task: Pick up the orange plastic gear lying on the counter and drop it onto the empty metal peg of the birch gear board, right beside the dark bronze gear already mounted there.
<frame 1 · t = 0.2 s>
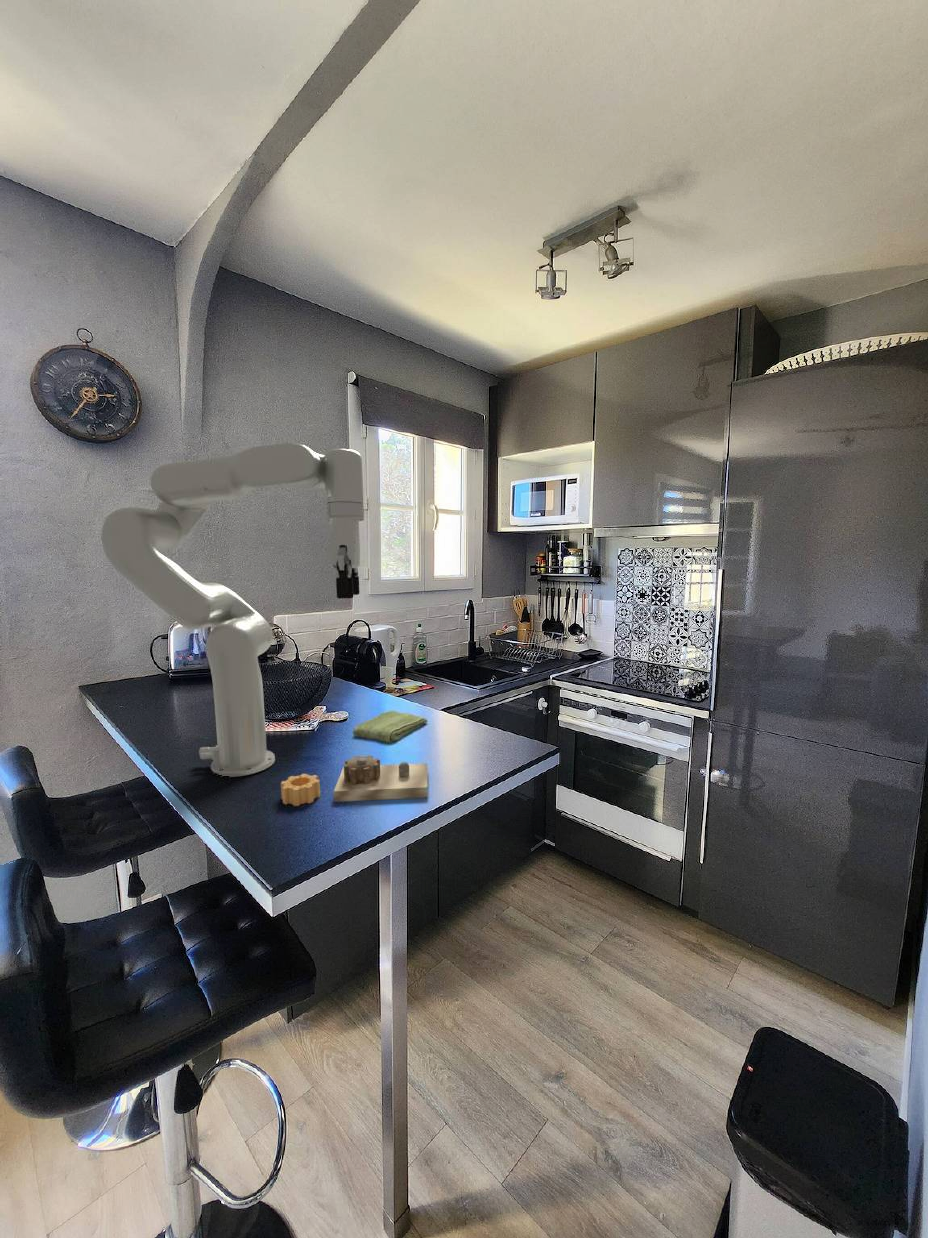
hand: (348, 596, 105), 36 cm above the breakfast bar, tool pointing down, fingers open, 9 cm apart
gear board: (383, 786, 98), on the breakfast bar
washcloth: (390, 731, 130), on the breakfast bar
loose gear: (301, 797, 94), on the breakfast bar
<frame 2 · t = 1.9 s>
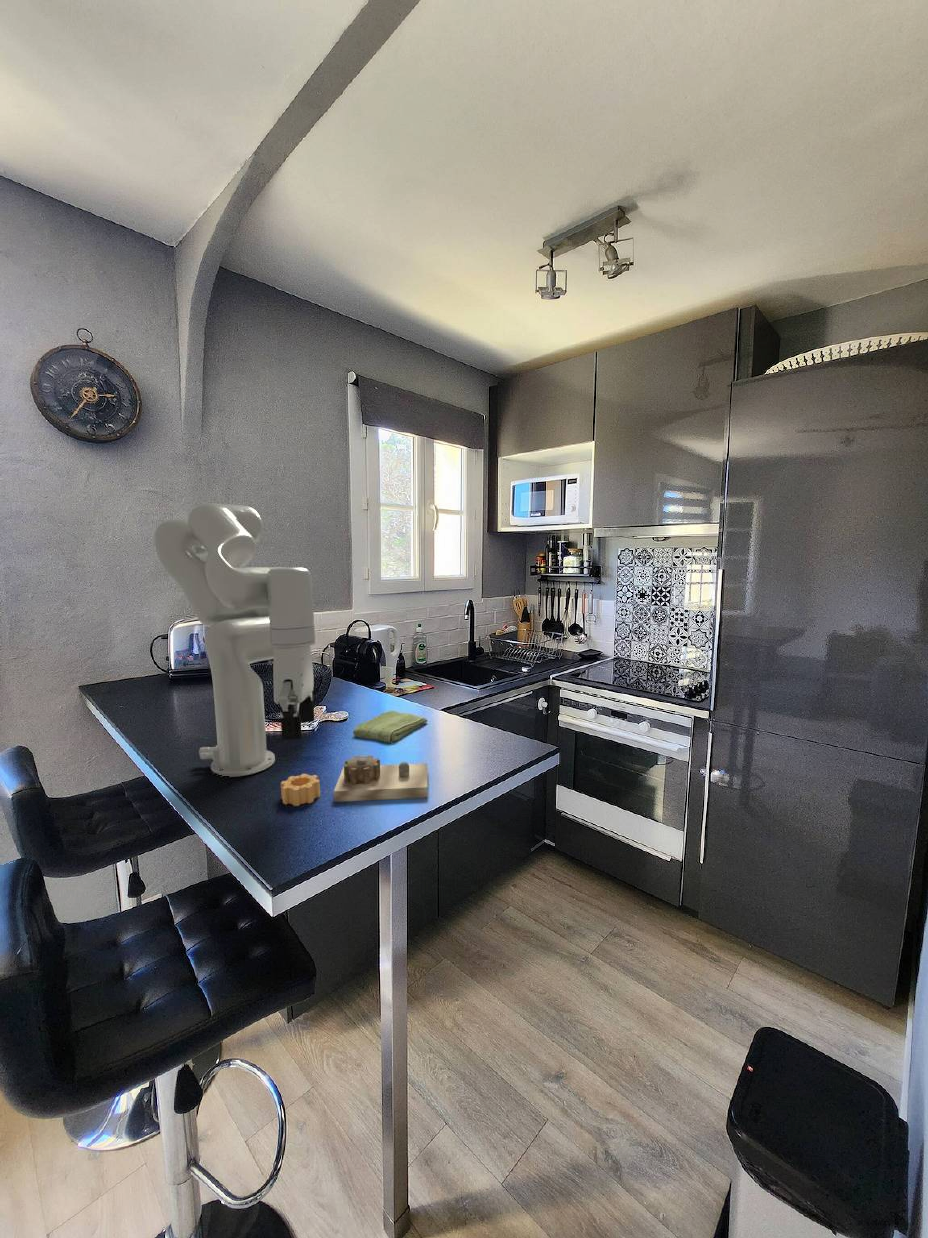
hand: (299, 729, 92), 13 cm above the breakfast bar, tool pointing down, fingers open, 9 cm apart
nothing on the breakfast bar moved.
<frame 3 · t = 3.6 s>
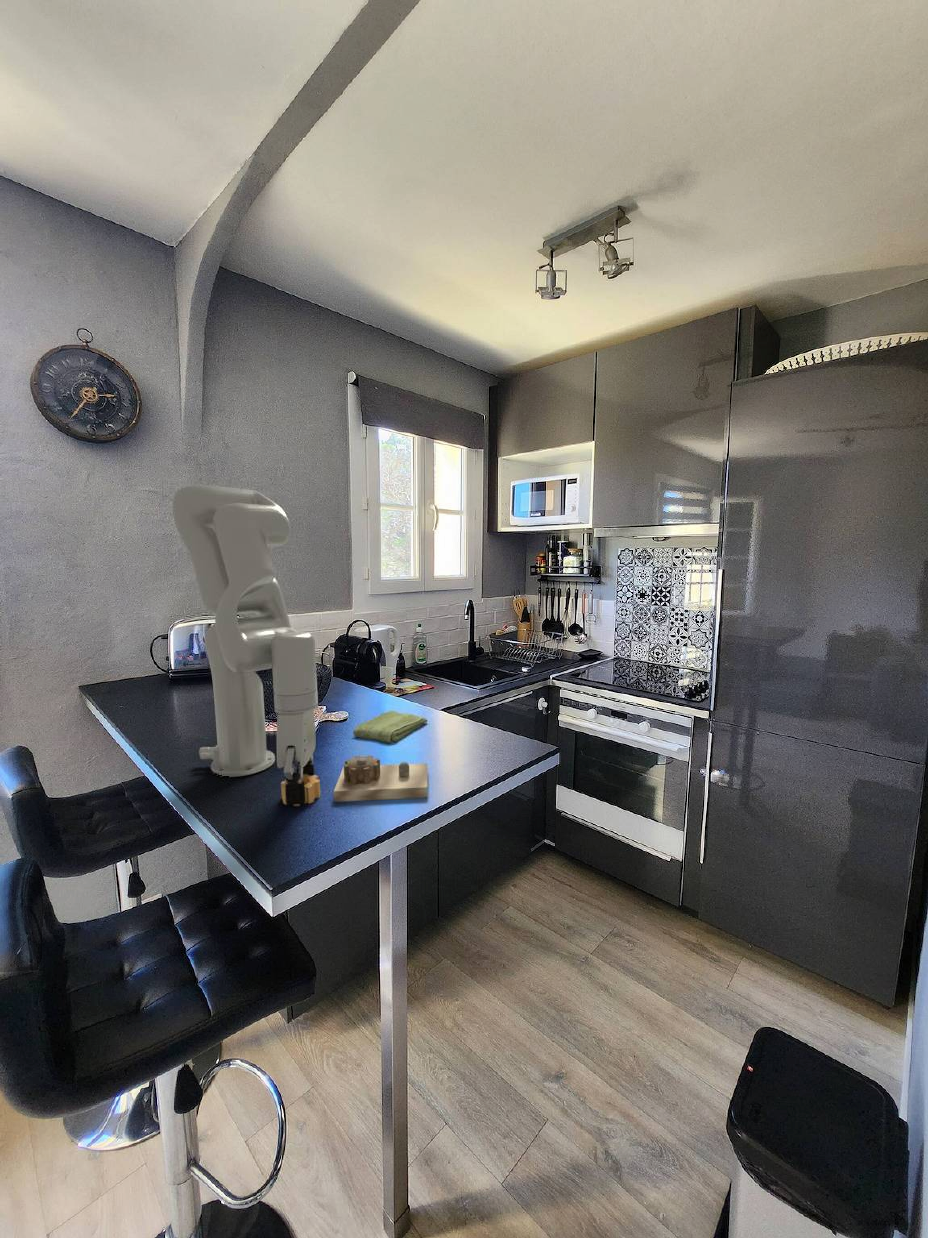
hand: (301, 793, 93), 1 cm above the breakfast bar, tool pointing down, fingers closed on loose gear, 6 cm apart
loose gear: (301, 797, 94), on the breakfast bar, touching gripper
everything else where it was.
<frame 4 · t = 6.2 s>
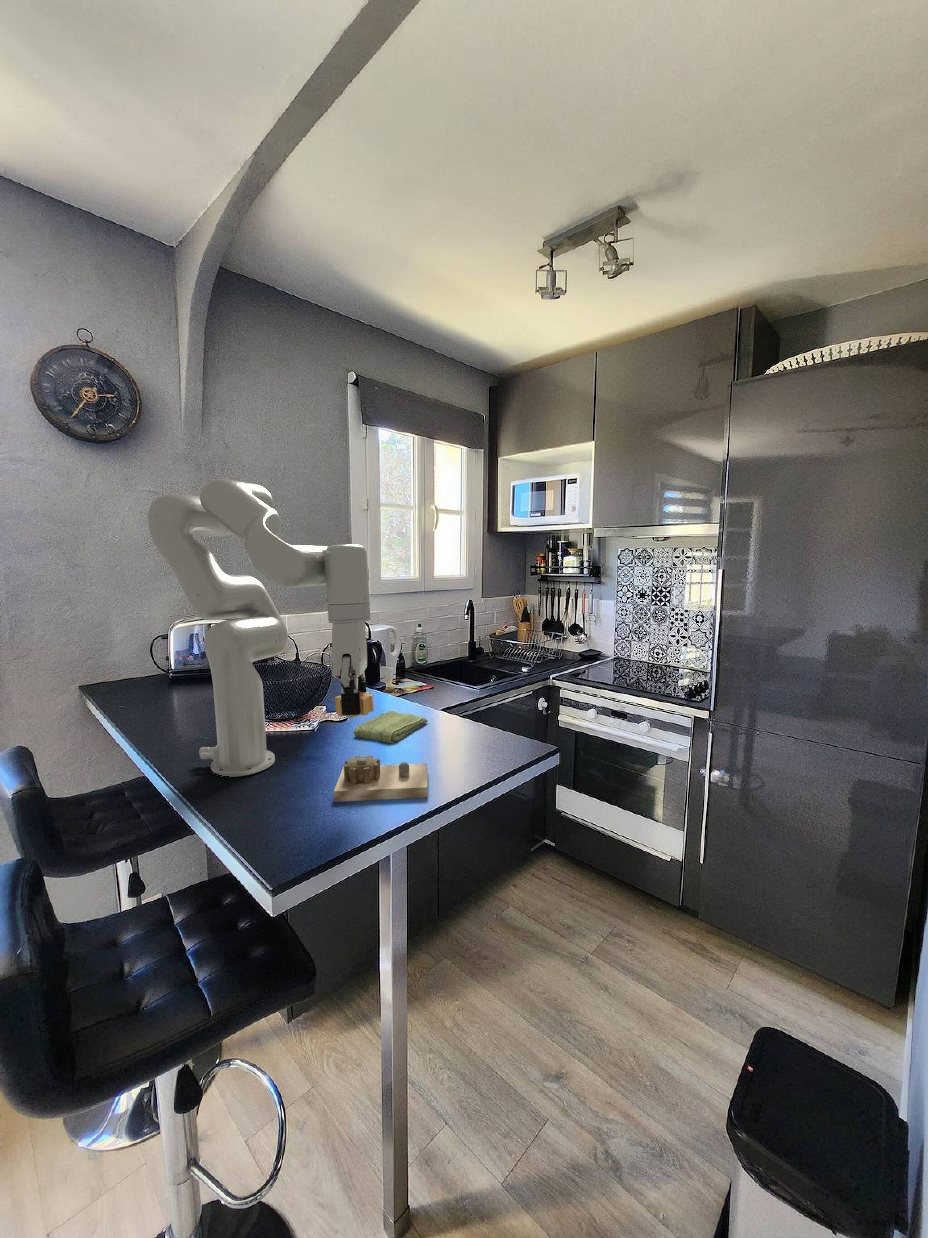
hand: (355, 707, 93), 16 cm above the breakfast bar, tool pointing down, fingers closed on loose gear, 6 cm apart
loose gear: (355, 711, 94), point 16 cm above the breakfast bar, touching gripper
everything else where it was.
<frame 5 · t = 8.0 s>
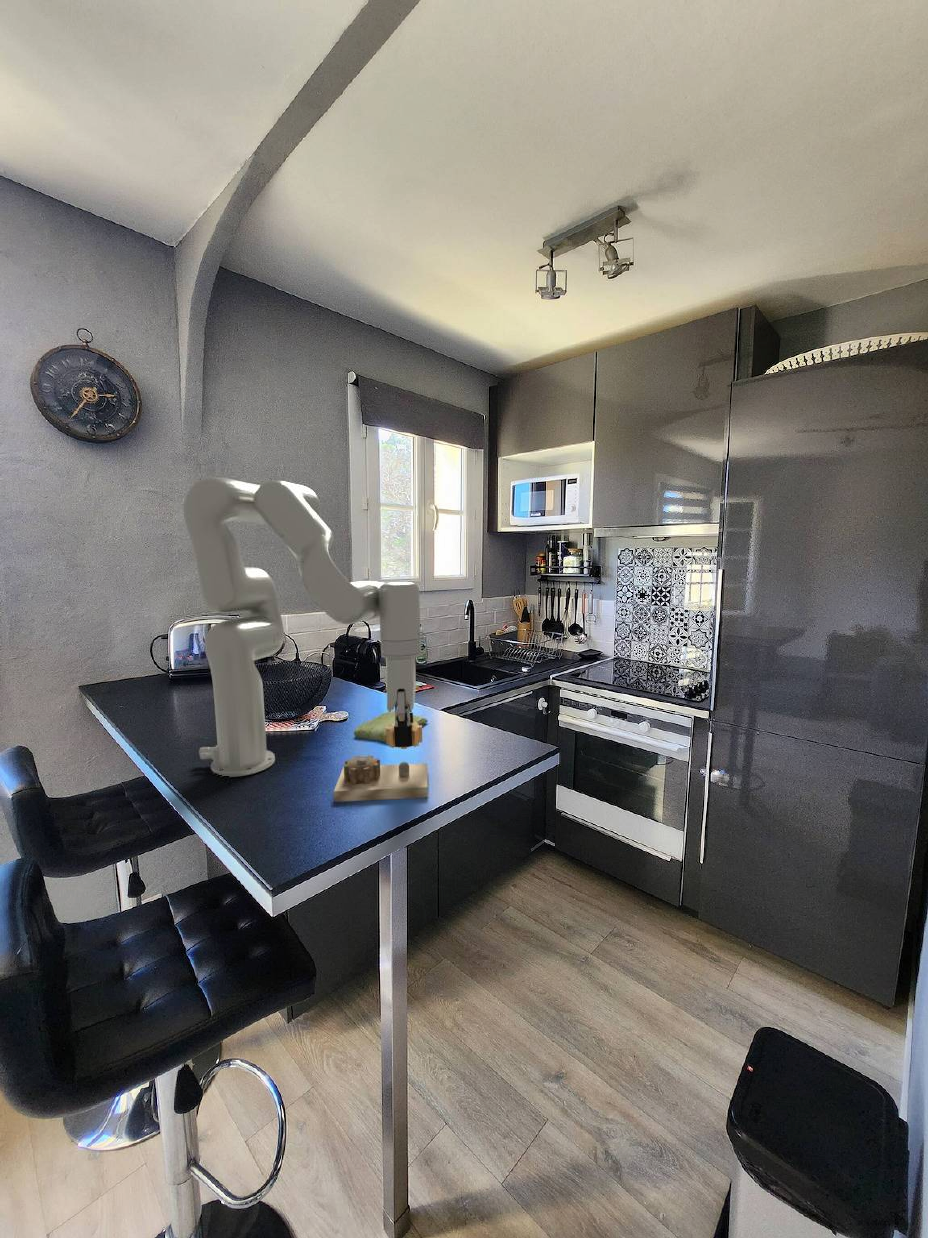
hand: (404, 738, 97), 9 cm above the breakfast bar, tool pointing down, fingers closed on loose gear, 6 cm apart
loose gear: (404, 742, 97), point 9 cm above the breakfast bar, touching gripper
everything else where it was.
when the fingers open (6 cm above the breakfast bar, at t = 9.2 s): loose gear drops 3 cm, resting on gear board.
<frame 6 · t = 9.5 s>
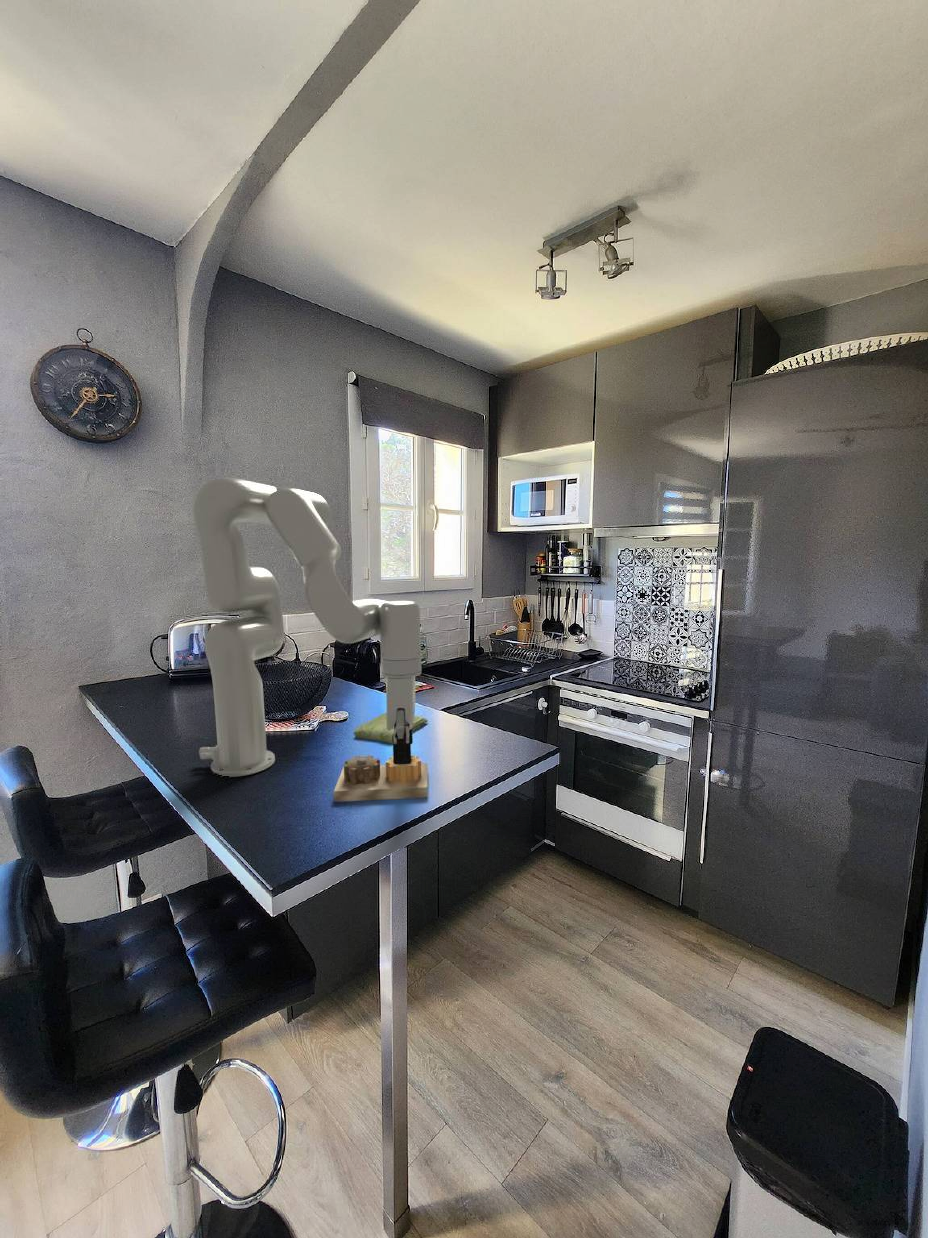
hand: (403, 753, 97), 6 cm above the breakfast bar, tool pointing down, fingers open, 9 cm apart
loose gear: (403, 775, 98), point 2 cm above the breakfast bar, touching gear board
everything else where it was.
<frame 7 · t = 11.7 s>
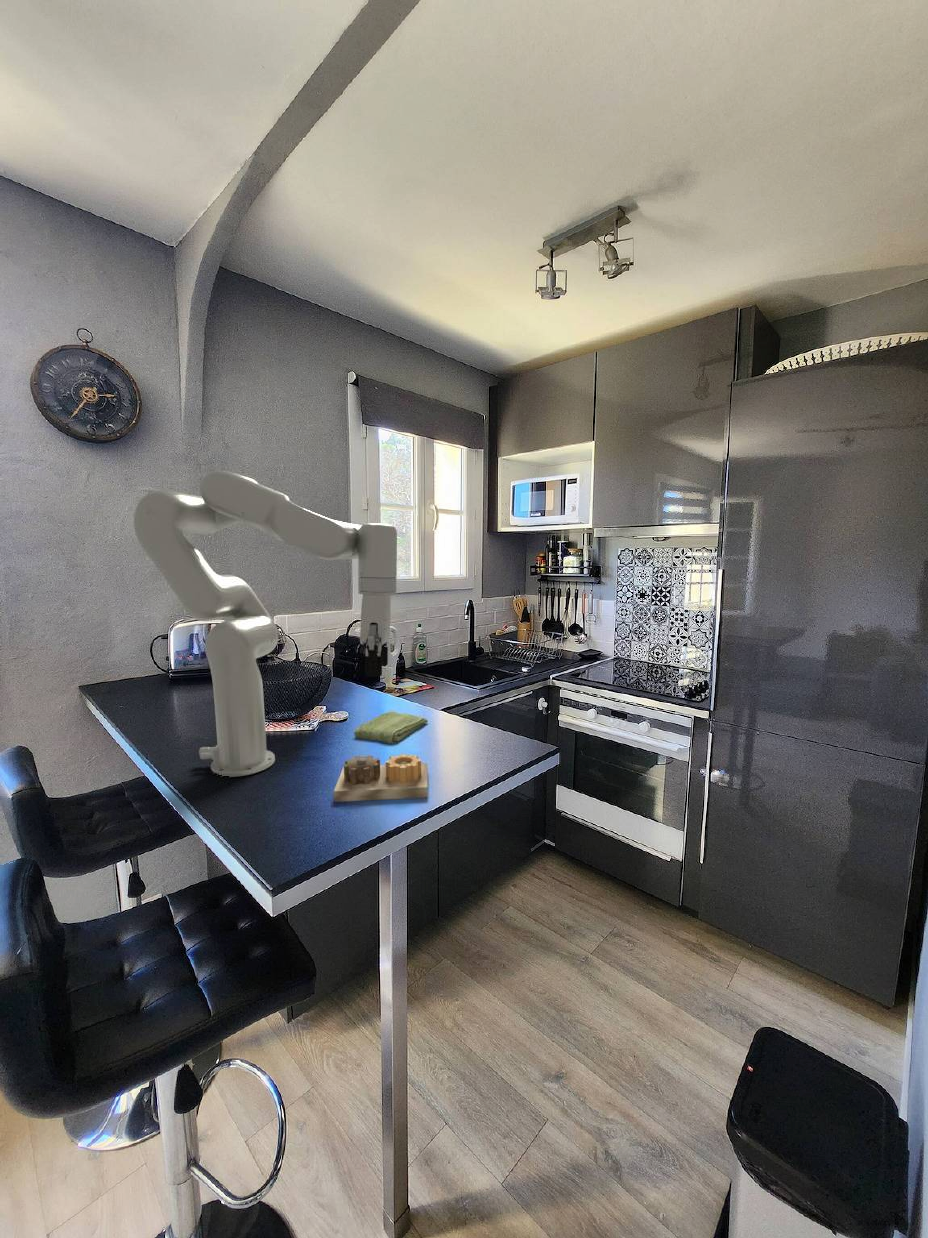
hand: (376, 670, 102), 21 cm above the breakfast bar, tool pointing down, fingers open, 9 cm apart
nothing on the breakfast bar moved.
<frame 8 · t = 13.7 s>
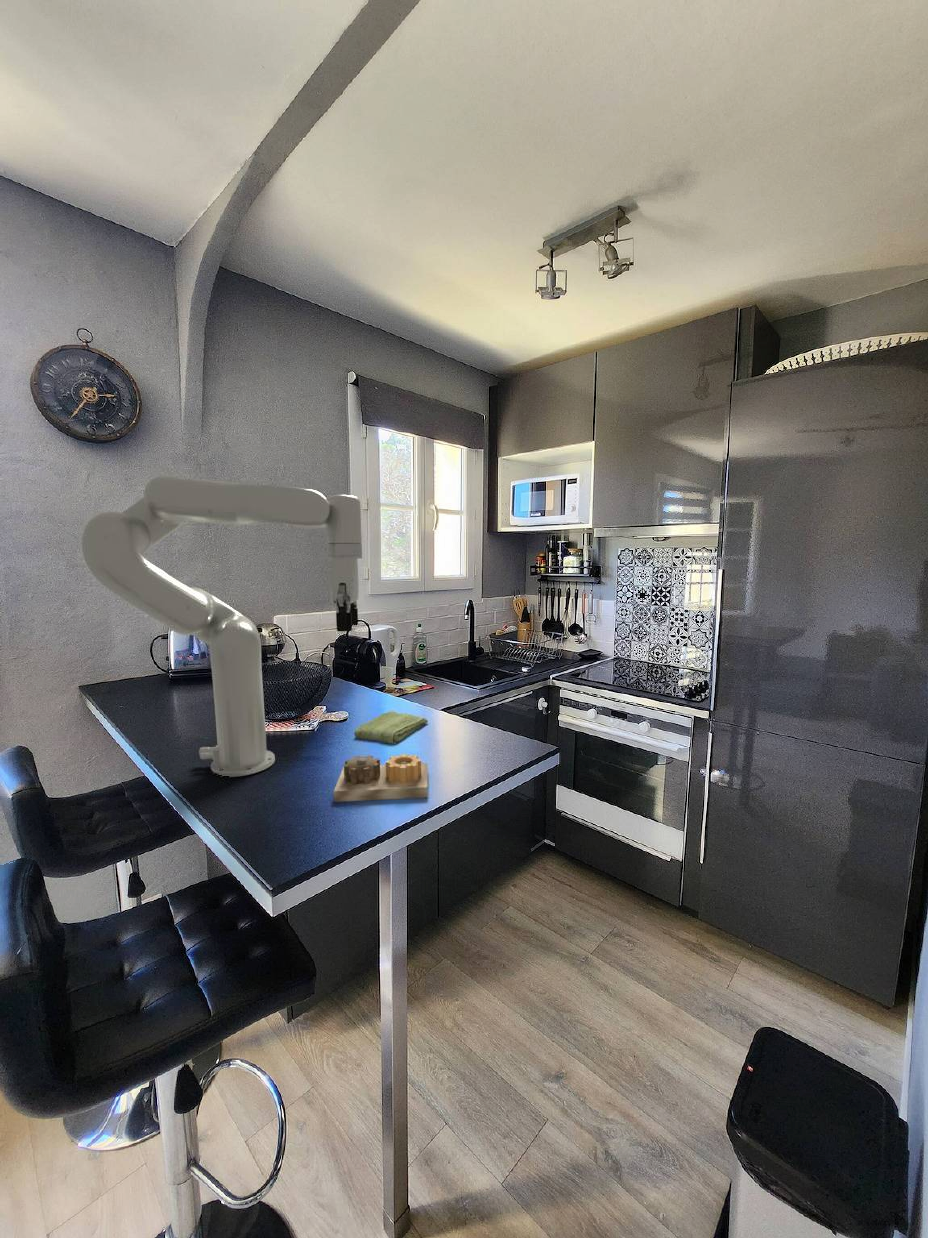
hand: (347, 628, 114), 28 cm above the breakfast bar, tool pointing down, fingers open, 9 cm apart
nothing on the breakfast bar moved.
at the end: loose gear 0.0 cm from the target spot on the gear board, point 2.0 cm above the gear board's base; loose gear tilted 0°; the gripper is holding nothing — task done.
